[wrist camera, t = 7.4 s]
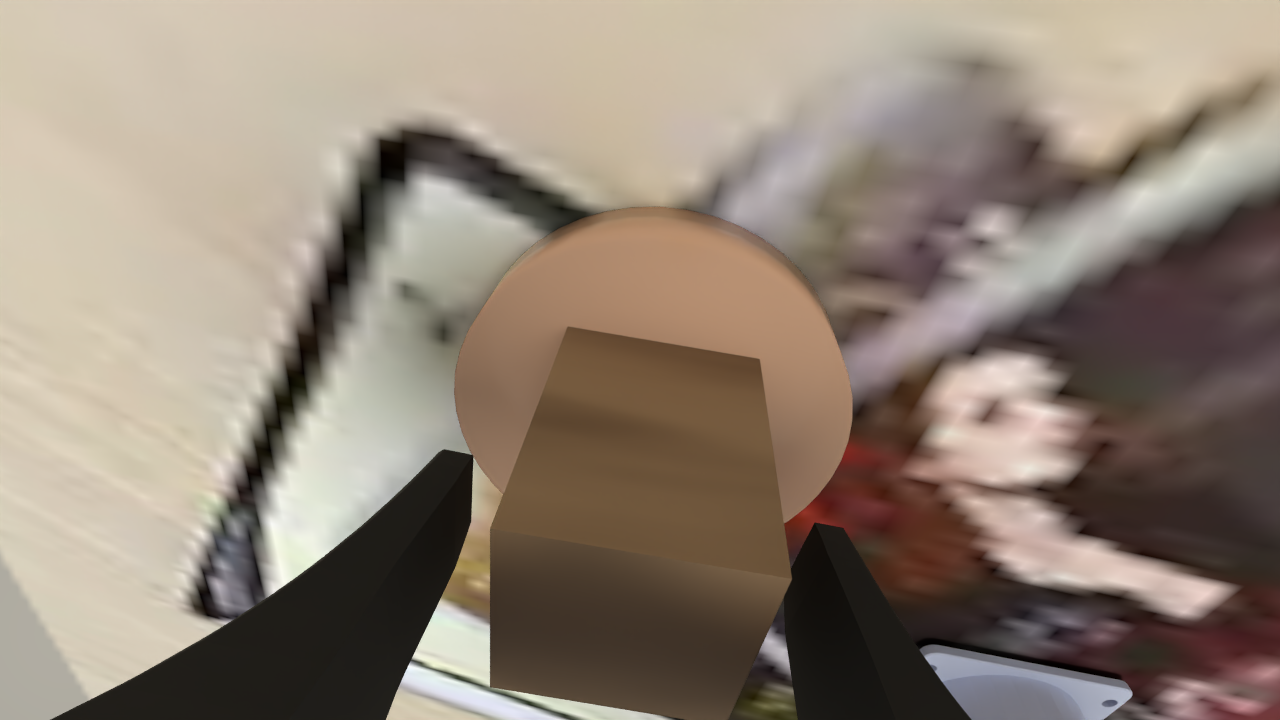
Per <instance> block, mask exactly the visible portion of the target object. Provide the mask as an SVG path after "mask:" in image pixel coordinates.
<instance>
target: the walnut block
mask: <svg viewBox="0 0 1280 720" xmlns="http://www.w3.org/2000/svg"><path fill="white" fill-rule="evenodd" d="M791 580H792V575H791V568H790V562H789V555H788V548H787V541H786V534H785V527H784V521H783V514H782V507H781V500H780V493H779V487H778V480H777V473H776V466H775V459H774V452H773V446H772V439H771V432H770V425H769V418H768V412H767V405H766V398H765V391H764V384H763V377H762V371H761V364H760V359H758V358H752V357H746V356H740V355H734V354H728V353H722V352H716V351H711V350H705V349H699V348H693V347H687V346H681V345H675V344H669V343H663V342H658V341H652V340H646V339H640V338H634V337H628V336H622V335H616V334H610V333H605V332H599V331H593V330H587V329H581V328H575V327H569V326H568V327H567V329H566V332H565V335H564V337H563V340H562V342H561V345H560V348H559V350H558V353H557V355H556V358H555V361H554V363H553V366H552V369H551V371H550V374H549V376H548V379H547V382H546V384H545V387H544V390H543V392H542V395H541V397H540V400H539V403H538V405H537V408H536V410H535V413H534V416H533V418H532V421H531V424H530V426H529V429H528V431H527V434H526V437H525V439H524V442H523V445H522V447H521V450H520V452H519V455H518V458H517V460H516V463H515V465H514V468H513V471H512V473H511V476H510V479H509V481H508V484H507V486H506V489H505V492H504V494H503V497H502V500H501V502H500V505H499V507H498V510H497V513H496V515H495V518H494V520H493V523H492V526H491V528H490V687H492V688H499V689H505V690H511V691H517V692H523V693H529V694H535V695H541V696H547V697H553V698H559V699H565V700H571V701H577V702H583V703H589V704H595V705H601V706H607V707H613V708H619V709H625V710H631V711H637V712H643V713H649V714H655V715H661V716H667V717H673V718H679V719H685V720H728V718H729V716H730V714H731V712H732V710H733V707H734V705H735V703H736V701H737V699H738V697H739V694H740V692H741V690H742V688H743V686H744V683H745V681H746V679H747V677H748V675H749V672H750V670H751V668H752V666H753V664H754V661H755V659H756V657H757V655H758V653H759V650H760V648H761V646H762V644H763V642H764V639H765V637H766V635H767V633H768V631H769V628H770V626H771V624H772V622H773V620H774V617H775V615H776V613H777V611H778V609H779V606H780V604H781V602H782V600H783V598H784V596H785V593H786V591H787V589H788V587H789V585H790V582H791Z"/></svg>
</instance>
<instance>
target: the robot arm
mask: <svg viewBox="0 0 1280 720" xmlns="http://www.w3.org/2000/svg"><path fill="white" fill-rule="evenodd" d="M472 478H473V455H470V454H465V453H460V452H455V451H450V450H445V449H444V450H442V451H440V452H439V453H438V454H437V455H436V456H435V457H434V458H433V459H432V460H431V461H430V462H429V463H428V464H427V465H426V466H425V467H424V468H423V469H422V470H421V471H420V472H419V473H418V474H417V475H416V476H415V477H414V478H413V479H412V480H411V481H410V482H409V483H408V484H407V485H406V486H405V487H404V488H403V489H402V490H401V491H400V492H398V493H397V494H396V495H395V496H394V497H393V498H392V499H391V500H390V501H389V502H388V503H387V504H385V505H384V506H383V507H382V508H381V509H380V510H379V511H378V512H377V513H375V514H374V515H373V516H372V517H371V518H370V519H369V520H368V521H366V522H365V523H364V524H363V525H362V526H361V527H360V528H358V529H357V530H356V531H355V532H353V533H352V534H351V535H350V536H349V537H347V538H346V539H345V540H344V541H342V542H341V543H340V544H339V545H338V546H336V547H335V548H334V549H333V550H331V551H330V552H329V553H328V554H326V555H325V556H324V557H323V558H321V559H320V560H319V561H317V562H316V563H315V564H314V565H312V566H311V567H310V568H308V569H307V570H306V571H304V572H303V573H302V574H300V575H299V576H297V577H296V578H295V579H293V580H292V581H290V582H289V583H288V584H286V585H285V586H283V587H282V588H281V589H279V590H278V591H276V592H275V593H273V594H272V595H271V596H269V597H268V598H266V599H265V600H263V601H261V602H260V603H258V604H257V605H255V606H254V607H252V608H251V609H249V610H248V611H246V612H245V613H243V614H242V615H240V616H239V617H237V618H235V619H234V620H232V621H231V622H229V623H228V624H226V625H224V626H223V627H221V628H220V629H218V630H216V631H215V632H213V633H211V634H210V635H208V636H206V637H205V638H203V639H201V640H200V641H198V642H196V643H194V644H193V645H191V646H189V647H187V648H185V649H184V650H182V651H180V652H178V653H177V654H175V655H173V656H171V657H170V658H168V659H166V660H164V661H163V662H161V663H159V664H157V665H156V666H154V667H152V668H150V669H149V670H147V671H145V672H143V673H141V674H140V675H138V676H136V677H134V678H132V679H130V680H128V681H126V682H125V683H123V684H121V685H119V686H117V687H115V688H113V689H111V690H109V691H107V692H105V693H103V694H101V695H99V696H97V697H95V698H93V699H91V700H89V701H87V702H85V703H83V704H81V705H79V706H77V707H75V708H73V709H71V710H69V711H67V712H65V713H63V714H61V715H59V716H57V717H55V718H53V719H51V720H386V718H387V715H388V713H389V710H390V707H391V705H392V702H393V699H394V697H395V694H396V692H397V690H398V687H399V685H400V683H401V680H402V678H403V676H404V673H405V671H406V669H407V667H408V665H409V663H410V661H411V659H412V657H413V655H414V652H415V650H416V648H417V646H418V644H419V642H420V640H421V638H422V636H423V634H424V632H425V630H426V628H427V625H428V623H429V621H430V619H431V617H432V615H433V613H434V611H435V609H436V607H437V605H438V603H439V601H440V598H441V596H442V594H443V592H444V590H445V588H446V586H447V584H448V582H449V580H450V577H451V575H452V573H453V571H454V569H455V566H456V564H457V561H458V558H459V555H460V552H461V550H462V547H463V544H464V541H465V538H466V535H467V532H468V529H469V526H470V523H471V508H472ZM791 575H792V580H791V582H790V585H789V587H788V589H787V591H786V593H785V596H784V616H785V634H786V642H787V649H788V656H789V663H790V670H791V676H792V683H793V689H794V696H795V702H796V709H797V716H798V720H1104V719H1105V718H1106V717H1107V716H1109V715H1110V714H1111V713H1112V712H1114V711H1115V710H1116V709H1118V708H1119V707H1120V706H1121V705H1123V704H1124V703H1125V702H1126V701H1128V700H1129V699H1130V698H1131V697H1132V691H1131V689H1130V688H1129V686H1128V684H1127V683H1126V682H1124V681H1121V680H1118V679H1113V678H1107V677H1102V676H1097V675H1092V674H1087V673H1081V672H1076V671H1071V670H1066V669H1061V668H1056V667H1050V666H1045V665H1040V664H1035V663H1030V662H1025V661H1019V660H1014V659H1009V658H1004V657H999V656H993V655H988V654H983V653H978V652H973V651H968V650H962V649H957V648H952V647H947V646H942V645H935V644H931V645H926V646H924V647H922V648H921V649H920V650H919V649H918V647H917V646H916V644H915V643H914V641H913V640H912V638H911V637H910V635H909V634H908V632H907V631H906V629H905V627H904V626H903V624H902V623H901V621H900V620H899V618H898V617H897V615H896V614H895V612H894V610H893V609H892V607H891V606H890V604H889V603H888V601H887V599H886V598H885V596H884V595H883V593H882V591H881V590H880V588H879V586H878V585H877V583H876V582H875V580H874V578H873V577H872V575H871V573H870V572H869V570H868V568H867V567H866V565H865V563H864V562H863V560H862V558H861V557H860V555H859V553H858V552H857V550H856V548H855V547H854V545H853V543H852V542H851V540H850V538H849V537H848V535H847V533H846V532H845V530H844V529H843V528H840V527H835V526H830V525H825V524H820V523H814V525H813V527H812V529H811V531H810V533H809V535H808V537H807V539H806V540H805V542H804V544H803V546H802V548H801V550H800V552H799V554H798V556H797V558H796V560H795V562H794V564H793V566H792V568H791Z"/></svg>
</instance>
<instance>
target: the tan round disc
mask: <svg viewBox="0 0 1280 720" xmlns="http://www.w3.org/2000/svg"><path fill="white" fill-rule="evenodd" d="M568 326H569V327H575V328H581V329H587V330H593V331H599V332H605V333H610V334H616V335H622V336H628V337H634V338H640V339H646V340H652V341H658V342H663V343H669V344H675V345H681V346H687V347H693V348H699V349H705V350H711V351H716V352H722V353H728V354H734V355H740V356H746V357H752V358H758V359H760V364H761V371H762V377H763V384H764V391H765V398H766V405H767V412H768V418H769V425H770V432H771V439H772V446H773V452H774V459H775V466H776V473H777V480H778V487H779V493H780V500H781V507H782V514H783V521H784V523H786V522H787V521H789V520H790V519H791V518H793V517H794V516H795V515H797V514H798V513H799V512H800V511H802V510H803V509H804V508H805V507H806V506H807V505H808V504H809V503H810V502H811V501H812V500H813V499H814V498H815V497H817V496H818V495H819V493H820V492H821V491H822V489H823V488H824V487H825V486H826V484H827V483H828V482H829V480H830V479H831V478H832V476H833V474H834V472H835V470H836V469H837V467H838V465H839V463H840V461H841V460H842V457H843V454H844V451H845V448H846V446H847V443H848V440H849V435H850V429H851V424H852V392H851V386H850V380H849V375H848V372H847V369H846V366H845V364H844V361H843V358H842V355H841V352H840V349H839V346H838V344H837V341H836V338H835V335H834V332H833V330H832V327H831V324H830V321H829V319H828V316H827V313H826V310H825V308H824V306H823V304H822V303H821V301H820V299H819V297H818V295H817V293H816V291H815V290H814V288H813V287H812V286H811V284H810V283H809V282H808V280H807V279H806V278H805V276H804V275H803V274H802V272H801V271H800V270H799V269H798V268H797V267H796V266H795V265H794V264H793V263H792V262H791V261H790V260H789V259H788V258H787V257H786V256H785V255H784V254H783V253H781V252H780V251H779V250H777V249H776V248H775V247H773V246H772V245H770V244H769V243H768V242H766V241H765V240H764V239H762V238H760V237H759V236H757V235H755V234H753V233H751V232H749V231H748V230H746V229H744V228H742V227H740V226H738V225H736V224H733V223H730V222H728V221H725V220H722V219H720V218H717V217H715V216H711V215H707V214H703V213H698V212H694V211H690V210H685V209H675V208H666V207H632V208H625V209H618V210H612V211H606V212H602V213H599V214H595V215H592V216H588V217H585V218H581V219H579V220H577V221H574V222H572V223H570V224H568V225H565V226H563V227H561V228H559V229H557V230H555V231H554V232H552V233H551V234H549V235H547V236H546V237H544V238H543V239H541V240H539V241H538V242H537V243H535V244H534V245H533V246H532V247H531V248H529V249H528V250H527V251H526V252H525V253H524V254H522V255H521V256H520V257H519V258H518V259H517V261H516V262H515V263H514V264H513V265H512V266H511V268H510V269H509V270H508V271H507V272H506V273H505V275H504V276H503V278H502V279H501V281H500V282H499V284H498V285H497V287H496V288H495V290H494V291H493V293H492V294H491V296H490V297H489V299H488V300H487V302H486V303H485V305H484V306H483V308H482V309H481V311H480V313H479V314H478V316H477V317H476V319H475V321H474V322H473V324H472V325H471V327H470V329H469V330H468V332H467V335H466V337H465V340H464V342H463V345H462V347H461V350H460V353H459V357H458V362H457V366H456V371H455V388H454V395H455V403H456V412H457V416H458V420H459V423H460V427H461V431H462V433H463V436H464V438H465V440H466V443H467V445H468V447H469V449H470V451H471V453H472V455H473V456H474V458H475V460H476V461H477V463H478V465H479V466H480V468H481V469H482V470H483V472H484V473H485V474H486V476H487V477H488V478H489V479H490V481H491V482H492V483H493V484H494V485H495V486H496V487H497V488H498V489H499V490H500V491H501V492H502V493H503V494H504V492H505V489H506V486H507V484H508V481H509V479H510V476H511V473H512V471H513V468H514V465H515V463H516V460H517V458H518V455H519V452H520V450H521V447H522V445H523V442H524V439H525V437H526V434H527V431H528V429H529V426H530V424H531V421H532V418H533V416H534V413H535V410H536V408H537V405H538V403H539V400H540V397H541V395H542V392H543V390H544V387H545V384H546V382H547V379H548V376H549V374H550V371H551V369H552V366H553V363H554V361H555V358H556V355H557V353H558V350H559V348H560V345H561V342H562V340H563V337H564V335H565V332H566V329H567V327H568Z"/></svg>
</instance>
